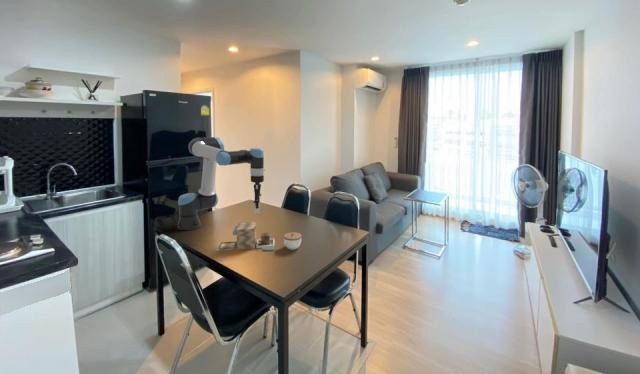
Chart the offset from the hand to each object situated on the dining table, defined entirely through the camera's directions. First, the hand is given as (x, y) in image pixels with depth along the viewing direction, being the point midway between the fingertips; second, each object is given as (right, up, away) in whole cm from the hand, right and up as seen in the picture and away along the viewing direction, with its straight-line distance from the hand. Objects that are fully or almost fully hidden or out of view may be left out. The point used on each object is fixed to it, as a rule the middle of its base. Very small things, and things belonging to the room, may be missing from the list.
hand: (257, 209), depth 180 cm
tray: (+5, -22, +1) cm, 23 cm away
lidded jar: (+21, -23, 0) cm, 31 cm away
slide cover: (-8, -13, -3) cm, 16 cm away
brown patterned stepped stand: (-13, -22, -1) cm, 26 cm away
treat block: (+5, -21, +1) cm, 22 cm away
